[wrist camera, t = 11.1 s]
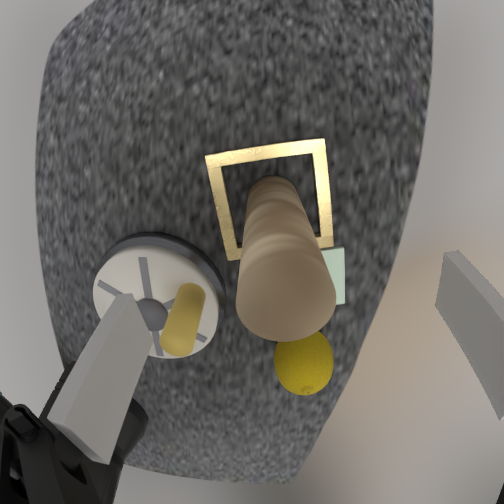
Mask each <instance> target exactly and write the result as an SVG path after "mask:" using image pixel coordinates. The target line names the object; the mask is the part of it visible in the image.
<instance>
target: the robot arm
mask: <svg viewBox="0 0 504 504" xmlns="http://www.w3.org/2000/svg"><path fill="white" fill-rule="evenodd" d="M435 306H436V308H437V309H438V311H439V312H440V314H441V316H442V317H443V319H444V320H445V322H446V324H447V325H448V327H449V328H450V330H451V332H452V333H453V335H454V337H455V338H456V340H457V341H458V343H459V345H460V346H461V348H462V350H463V352H464V353H465V355H466V357H467V359H468V360H469V362H470V364H471V366H472V367H473V369H474V371H475V373H476V375H477V377H478V378H479V380H480V382H481V384H482V386H483V388H484V390H485V392H486V394H487V396H488V398H489V400H490V402H491V404H492V406H493V408H494V410H495V412H496V414H497V417H498V419H499V421H501V420H503V419H504V298H503V297H502V296H501V295H500V294H499V293H498V291H497V290H496V289H495V288H494V287H493V286H492V285H491V284H490V283H489V281H488V280H487V279H485V277H484V276H483V275H482V274H481V273H480V272H479V271H478V270H477V269H476V268H475V267H474V266H473V265H472V264H471V262H470V261H469V260H468V259H466V257H465V256H464V255H463V254H462V253H461V252H460V251H458V250H457V251H451V252H446V253H444V258H443V265H442V272H441V277H440V283H439V288H438V293H437V299H436V304H435ZM152 344H153V338H152V336H151V334H150V332H149V330H148V328H147V326H146V323H145V321H144V319H143V317H142V315H141V312H140V310H139V308H138V306H137V303H136V301H135V299H134V296H133V294H132V293H127V294H117V296H116V297H115V299H114V300H113V302H112V304H111V305H110V307H109V308H108V310H107V312H106V313H105V315H104V316H103V318H102V320H101V321H100V323H99V324H98V326H97V328H96V329H95V331H94V333H93V334H92V336H91V338H90V339H89V341H88V343H87V344H86V346H85V348H84V350H83V351H82V353H81V355H80V356H79V358H78V360H77V361H73V362H72V363H71V364H70V365H69V366H68V367H67V368H66V369H65V370H64V372H63V374H62V376H61V378H60V379H59V382H58V383H57V385H56V386H55V390H53V392H52V394H51V395H50V397H49V399H48V401H47V403H46V405H45V407H44V409H43V411H42V413H41V415H40V417H39V418H37V417H36V416H35V415H34V414H33V413H32V412H31V410H30V409H29V408H28V407H27V406H25V405H23V404H17V405H14V406H13V405H12V404H11V403H10V402H9V401H8V400H7V399H6V398H5V397H3V396H2V393H1V392H0V504H113V502H114V498H115V494H116V490H117V486H118V483H119V479H120V475H121V471H122V468H123V464H124V461H125V459H126V457H127V456H128V455H129V454H130V452H131V451H132V450H133V448H134V447H135V445H136V444H137V443H138V441H139V440H140V439H141V438H142V437H143V435H144V433H145V429H146V426H147V422H148V420H147V416H146V414H145V412H144V411H143V409H142V408H141V407H140V406H139V405H138V404H137V403H136V402H135V401H134V400H133V399H132V396H133V393H134V391H135V388H136V385H137V382H138V380H139V377H140V374H141V372H142V369H143V367H144V364H145V361H146V359H147V356H148V354H149V351H150V349H151V346H152ZM496 504H504V484H503V487H502V490H501V492H500V495H499V498H498V500H497V503H496Z"/></svg>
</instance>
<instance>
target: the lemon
mask: <svg viewBox="0 0 504 504" xmlns="http://www.w3.org/2000/svg"><path fill="white" fill-rule="evenodd" d="M274 366H275V371H276V374H277V377H278V379H279V381H280V383H281V384H282V385H283V386H284V387H285V388H286V389H287V390H288V391H290V392H292V393H294V394H298V395H309V394H313V393H316V392H318V391H319V390H321V389H322V388H323V387H324V386H325V385H326V384H327V383H328V381H329V380H330V378H331V375H332V371H333V353H332V348H331V346H330V344H329V342H328V340H327V339H326V337H325V336H324V335H323V334H322V333H321V332H319V331H317V332H316V333H314V334H312V335H310V336H308V337H306V338H303V339H300V340H295V341H288V342H278V343H277V345H276V348H275V352H274Z"/></svg>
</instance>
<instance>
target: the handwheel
mask: <svg viewBox="0 0 504 504" xmlns="http://www.w3.org/2000/svg"><path fill="white" fill-rule="evenodd" d="M127 293H132V294H133V296H134V299H135V301H136V303H137V306H138V308H139V310H140V312H141V315H142V317H143V319H144V321H145V323H146V326H147V328H148V330H149V332H150V334H151V336H152V338H153V344H152V346H151V349H150V351H149V354H148V355H149V356H153V357H158V358H168V359H169V358H181V357H186V356H189V355H192V354H194V353H196V352H198V351H200V350H201V349H203V348H204V347H205V346H206V345H207V344H208V343H209V342H210V341H211V339H212V337H213V336H214V333H215V331H216V327H217V322H218V316H219V301H218V297H217V293H216V291H215V288H214V286H213V284H212V283H211V281H210V279H209V278H208V277H207V275H206V274H205V273H204V272H203V271H202V270H201V269H200V268H199V267H198V266H197V265H196V264H195V263H194V262H192V261H191V260H190V259H188V258H187V257H185V256H183V255H182V254H180V253H178V252H176V251H173V250H171V249H168V248H165V247H160V246H155V245H136V246H131V247H127V248H124V249H122V250H120V251H118V252H117V253H115V254H114V255H113V256H112V257H111V258H110V259H109V260H108V261H107V262H106V263H105V264H104V266H103V267H102V268H101V269H100V271H99V272H98V274H97V276H96V278H95V281H94V286H93V300H94V304H95V308H96V311H97V313H98V315H99V317H100V319H101V320H102V318H103V316H104V315H105V313H106V312H107V310H108V308H109V307H110V305H111V304H112V302H113V300H114V299H115V297H116V296H117V294H127Z"/></svg>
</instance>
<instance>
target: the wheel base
mask: <svg viewBox="0 0 504 504" xmlns="http://www.w3.org/2000/svg"><path fill="white" fill-rule="evenodd" d="M136 245H155V246H160V247H165V248H168V249H171V250H173V251H176V252H178V253H180V254H182V255H183V256H185V257H187V258H188V259H190V260H191V261H192V262H194V263H195V264H196V265H197V266H198V267H199V268H200V269H201V270H202V271H203V272H204V273H205V274H206V275H207V277H208V278H209V279H210V281H211V283H212V284H213V286H214V288H215V291H216V293H217V297H218V301H219V316H218V322H217V327H216V331H217V330H218V329H219V327H220V325H221V323H222V320H223V317H224V313H225V306H226V291H225V286H224V283H223V280H222V277H221V275H220V273H219V271H218V270H217V268H216V267H215V265H214V264H213V263H212V261H211V260H210V259H209V258H208V257H207V256H206V255H205V254H204V253H203V252H202V251H201V250H199V249H198V248H196V247H195V246H194V245H192V244H190V243H188V242H187V241H185V240H183V239H180V238H178V237H175V236H172V235H169V234H164V233H158V232H144V233H137V234H134V235H130V236H128V237H126V238H124V239H122V240H120V241H119V242H117V243H116V244H115V245H114V246H113V247H112V248H111V249H110V250H109V251H108V253H107V254H106V255H105V256H104V258H103V259H102V261H101V263H100V265H99V268H98V271H97V274H98V272H99V271H100V269H101V268H102V267H103V266H104V264H105V263H106V262H107V261H108V260H109V259H110V258H111V257H112V256H113V255H114V254H115V253H117V252H118V251H120V250H122V249H124V248H127V247H131V246H136ZM216 331H215V333H216ZM215 333H214V334H215Z"/></svg>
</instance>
